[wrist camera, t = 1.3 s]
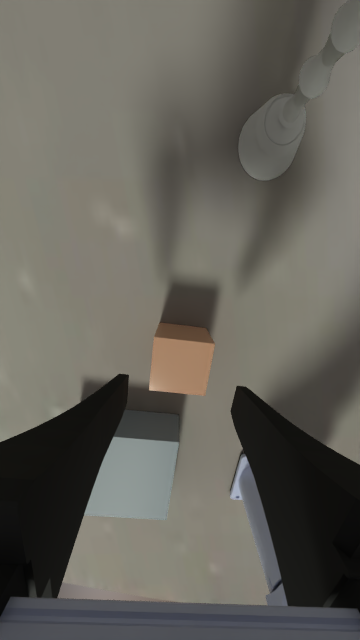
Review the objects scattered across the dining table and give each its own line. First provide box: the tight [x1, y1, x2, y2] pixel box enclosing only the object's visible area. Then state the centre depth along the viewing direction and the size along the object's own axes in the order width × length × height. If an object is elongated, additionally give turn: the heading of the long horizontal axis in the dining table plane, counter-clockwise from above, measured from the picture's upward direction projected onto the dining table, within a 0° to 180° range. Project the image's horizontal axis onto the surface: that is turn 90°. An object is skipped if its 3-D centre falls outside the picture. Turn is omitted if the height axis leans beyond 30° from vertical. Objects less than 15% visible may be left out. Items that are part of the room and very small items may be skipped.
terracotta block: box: [149, 323, 215, 396], centre depth 16 cm, size 5×5×4 cm
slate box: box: [84, 410, 179, 520], centre depth 20 cm, size 12×12×4 cm
